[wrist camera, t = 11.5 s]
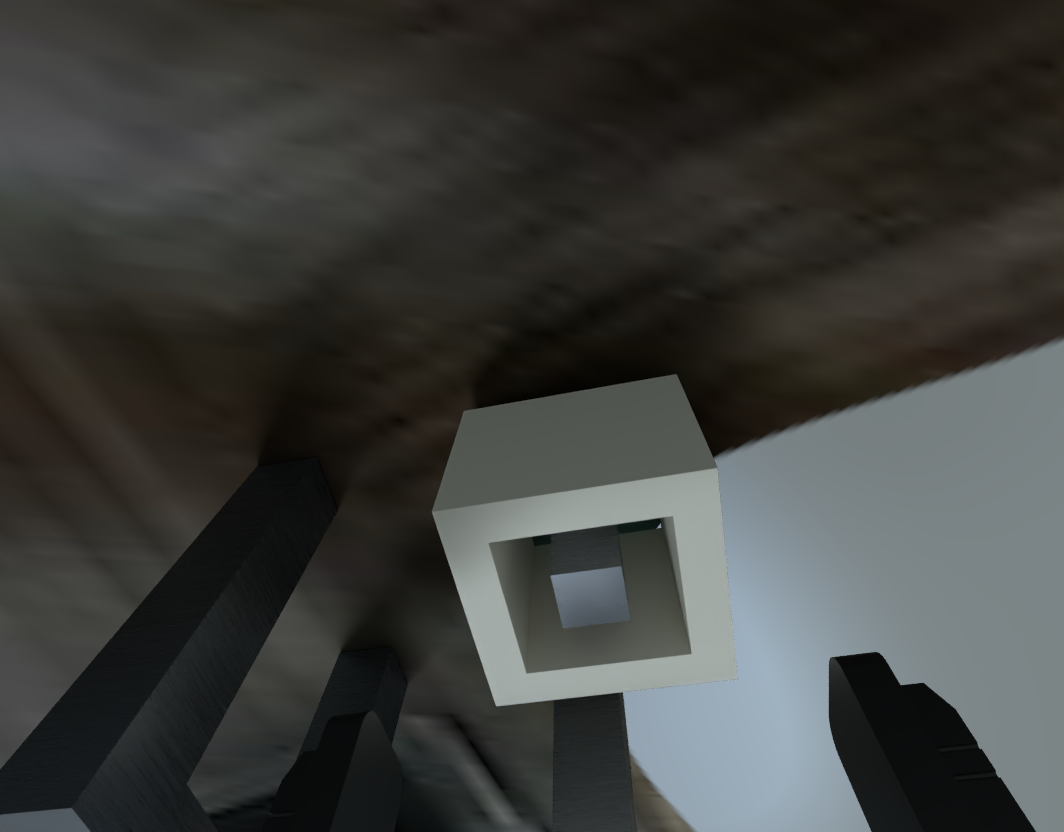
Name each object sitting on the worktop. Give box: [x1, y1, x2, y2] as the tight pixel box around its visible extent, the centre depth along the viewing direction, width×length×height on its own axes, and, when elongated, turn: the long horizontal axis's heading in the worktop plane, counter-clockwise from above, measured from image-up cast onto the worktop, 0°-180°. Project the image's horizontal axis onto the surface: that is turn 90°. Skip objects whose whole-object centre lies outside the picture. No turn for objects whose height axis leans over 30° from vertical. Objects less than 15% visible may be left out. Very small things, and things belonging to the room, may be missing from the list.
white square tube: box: [432, 374, 738, 706], centre depth 17 cm, size 6×6×5 cm
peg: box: [532, 518, 661, 628], centre depth 17 cm, size 6×6×6 cm
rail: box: [0, 457, 638, 832], centre depth 16 cm, size 10×10×11 cm
